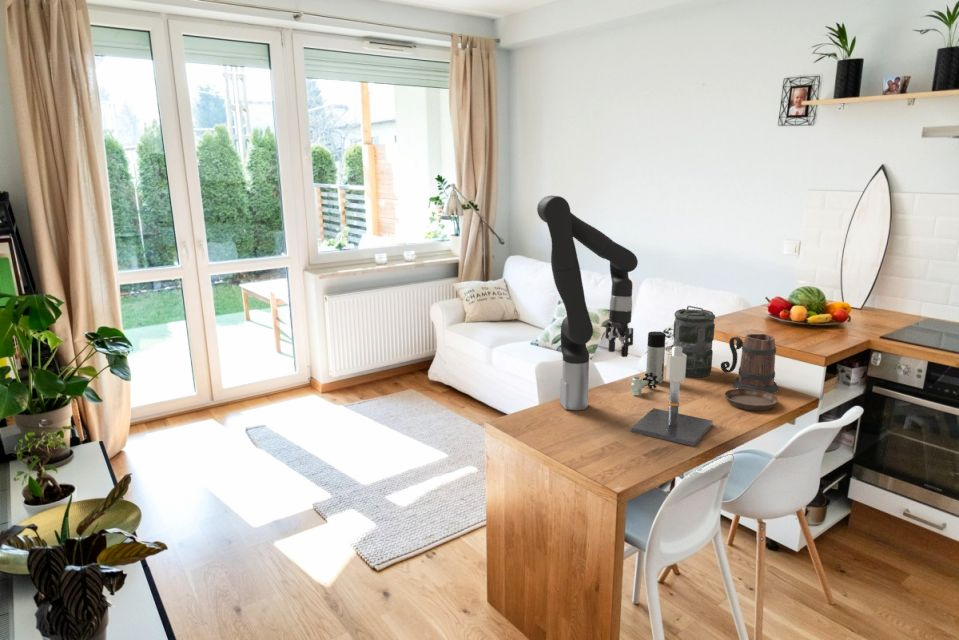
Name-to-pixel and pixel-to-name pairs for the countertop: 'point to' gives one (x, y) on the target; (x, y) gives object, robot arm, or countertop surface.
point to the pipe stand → (673, 419)
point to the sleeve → (676, 367)
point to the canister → (695, 339)
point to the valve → (642, 383)
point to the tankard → (754, 363)
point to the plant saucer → (751, 399)
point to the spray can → (656, 355)
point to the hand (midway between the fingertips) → (617, 354)
